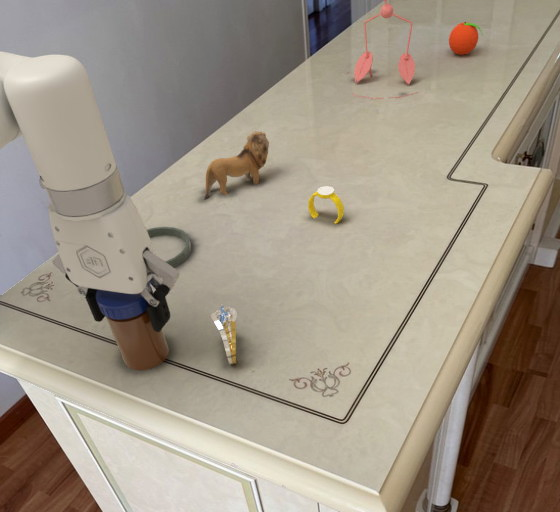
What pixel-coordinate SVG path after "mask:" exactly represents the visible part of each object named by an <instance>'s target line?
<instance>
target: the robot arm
mask: <svg viewBox="0 0 560 512" xmlns="http://www.w3.org/2000/svg"><path fill="white" fill-rule="evenodd" d="M20 137H22V138H23V140H24V142H25V144H26V147H27V149H28V152H29V154H30V156H31V159H32V161H33V163H34V166H35V168H36V170H37V173H38V175H39V180H38V181H39V182H38V183H39V186H40V187H41V189H43V190H45V192H46V195H47V197H48V199H49V202H50V204H49V205H48V207H47V208H48V217H49V223H50V228H51V232H52V236H53V240H54V242H55V246H56V249H57V251H58V254H57V255H56V256H55V257H54V258H53V259H52V264H53V265H54V266H55V268H57V269H58V270H59V271H60V272H61V273H62V274H64V276H65V278H66V280H68V281H69V282H70V283H71V284H73V285H74V286H75V287H76V288H77V290H76V291H77V292H78V294H79V295H81V296H84V297H85V301H86V303H87V305H88V308H89V310H90V312H91V315H92V317H93V320H94V321H95V322H98V323H100V322H102V321H103V320H104V319H105V318H106V316H104V314H103V313H102V312H101V311H100V308H99V306H98V303H97V299H96V292H97V290H98V289H99V290H106V291H112V292H119V293H127V294H138V293H140V294H141V295H142V296H143V297H144V299H145V300H146V301H147V302H148V305H147V306H146V309H147V312H148V315H149V318H150V321H151V324H152V327H153V330H154V331H156V332H160V331H161V330H163V328H164V327H165V325H166V324H167V323H168V322H169V321H170V319H171V311H170V308H169V305H168V301H167V298H166V297H167V296H168V295H169V293H170V292H171V291H172V289H173V288H174V286H175V284H177V283H176V282H177V281H178V279H179V278H180V275H181V273H180V271H179V270H178V269H177V268H176V267H172V266H171V265H169V264H168V263H166V262H165V261H166V260H165V261H164V260H163V259H161V257H159V256H158V255H156V252H155V249H154V246H153V243H152V240H151V238H150V237H149V235H148V232H147V228H146V227H147V226H146V225H145V223H144V221H143V219H142V216H141V214H140V212H139V211H138V208H137V206H136V205H135V203H134V201H133V199H132V197H131V196H130V195H128V194H126V191H125V188H124V185H123V182H122V179H121V177H120V173H119V169H118V167H117V162H116V160H115V156H114V153H113V149H112V147H111V143H110V141H109V138H108V134H107V131H106V128H105V125H104V122H103V118H102V115H101V112H100V109H99V105H98V102H97V99H96V96H95V93H94V90H93V85H92V83H91V81H90V77H89V74H88V72H87V70H86V68H85V66H84V65H83V63H81V61H79V60H78V59H77V58H75V57H73V56H71V55H67V54H58V53H57V54H46V55H40V56H35V57H31V56H26V55H21V54H16V53H11V52H6V51H1V50H0V150H2V149H3V148H4V147H5V146H7V145H8V144H9V143H10V142H13V141H15V140H16V139H18V138H20ZM160 278H161V279H160ZM148 282H149V283H150V286H151V287H153V288H154V291H153V290H152V291H153V292H152V291H151V290H150V289H149V288H148V287H147V286H146V285H147V283H148Z"/></svg>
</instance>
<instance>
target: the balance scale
mask: <svg viewBox="0 0 560 512" xmlns="http://www.w3.org/2000/svg"><path fill="white" fill-rule="evenodd" d="M383 1H384V4H383V5H382V6H381V8H380V13H378V14H376V15H373V16H372V17H370V18H369V19H367V20H365V21H364V23H363V27H364V28H363V29H364V39H365V40H364V42H365V44H364V45H365V52H363V54H362V55H361V56H360V57H359V58H358V59H357V62H356V63H355V67H354V82H355V84H358V83H359V82H361V81H362V80H363V79H364V78H365V77H366V76H367V75H368V74H369V76H370V77H372V76H373V71H372V65H373V60H374V55H373V54H372V51H369V50H368V37H367V23H368V22H370V21H373V20H374V19H376V18H378V17H379V16H380V17H382V18H383V19H390V18H391V17H392V16H393V17H396V18H398V19H400V20H402V21H404V22H407V23H409V24H410V26H409V33H408V39H407V44H406V45H407V46H406V51H405V53H403V54H401V56H400V57H399V61H398V65H397V66H398V67H397V68H398V69H397V70H398V72H399V75H400V77H401V79H403V81H404V82H405V83H406V84H407V85H410V84H411V82H412V80H413V78H414V75H415V72H416V64H415V60H414V59H413V57H412V55H411V54H410V53H409V49H410V42H411V35H412V30H413V21H411V20H410V19H409V20H408V19H407V18H404V17H402V16H400V15H397V14H396V13H394V7H393V6H392V4H390V3H388V1H387V0H383ZM349 73H350V71H349V72H346V73H345V75H347V74H349ZM415 94H419V92H418V91H417V92H414V93H411V94H405V95H399V96H391V97H389V99H400V98H403V97H407V96H413V95H415ZM351 95H352V96H355V97H359V98H364V99H365V98H366V99H372V97H370V96H361V95H358V94H353V93H352V94H351ZM379 99H380V100H381V99H383V97H376V100H379Z"/></svg>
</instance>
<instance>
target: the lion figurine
mask: <svg viewBox="0 0 560 512" xmlns="http://www.w3.org/2000/svg"><path fill="white" fill-rule="evenodd" d="M246 141H247V142H246V143H245V145H244V146H243V149H242V150H241V151H240V153H239V154H237V155H235V156H232V157H231V156H230V157H226V158H225V157H224V158H221V157H219V158H215V159H214V160H212V161H211V162H210V163H209V165H208V167H207V169H206V173H205V195H204V198H203V201H206V200H208V199H209V195H210V193H212V191H211V189H212V187H213V186H214V184H215V183H216V182H217V183H218V185H219V192H220V194H222V196H227V195H229V193H228V191H227V189H226V188H227V184H228V183H227V182H228V177H231V178H239V177H244V176H245V181H246V182H251V181H253V185H256V186H257V185H259V184H260V182H259V181H260V170H261V169H262V168H264V167H265V165H266V163H267V160H268V155H269V147H270V142H269V139H268V138H267V135H266V133H265V132H263V131H257V130H256V131H253V132H251V133H250V134H249V135H247V137H246Z"/></svg>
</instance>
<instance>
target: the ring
mask: <svg viewBox="0 0 560 512" xmlns="http://www.w3.org/2000/svg"><path fill="white" fill-rule="evenodd" d="M210 317H211V320H212V321H213V323H214V324H215V326H216V328H217V329H218V332H219V334H220V337H221V338H222V339H221V340H222V342H223V347H224V350H225V354H226V358H227V360H228V364H229V365H236V364H237V349H236V348H237V341H236V340H237V339H236V338H237V337H236V336H237V329H236V328H237V324H236V321H237V317H238V313H237V310H236V309H235V308H234V307H233V306H227V307H225V306H224V304H223V303H222V304H220V309H216V310H215V311H214V312H211V314H210Z"/></svg>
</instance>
